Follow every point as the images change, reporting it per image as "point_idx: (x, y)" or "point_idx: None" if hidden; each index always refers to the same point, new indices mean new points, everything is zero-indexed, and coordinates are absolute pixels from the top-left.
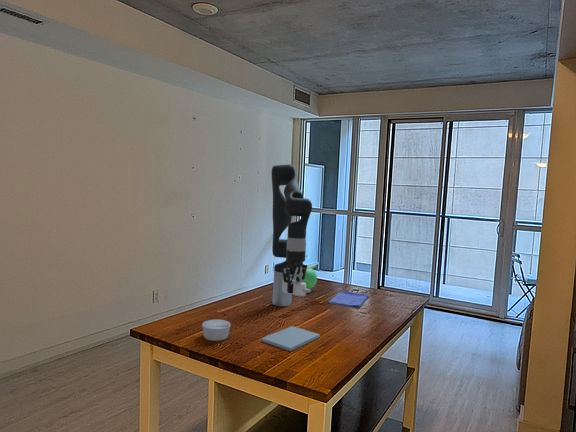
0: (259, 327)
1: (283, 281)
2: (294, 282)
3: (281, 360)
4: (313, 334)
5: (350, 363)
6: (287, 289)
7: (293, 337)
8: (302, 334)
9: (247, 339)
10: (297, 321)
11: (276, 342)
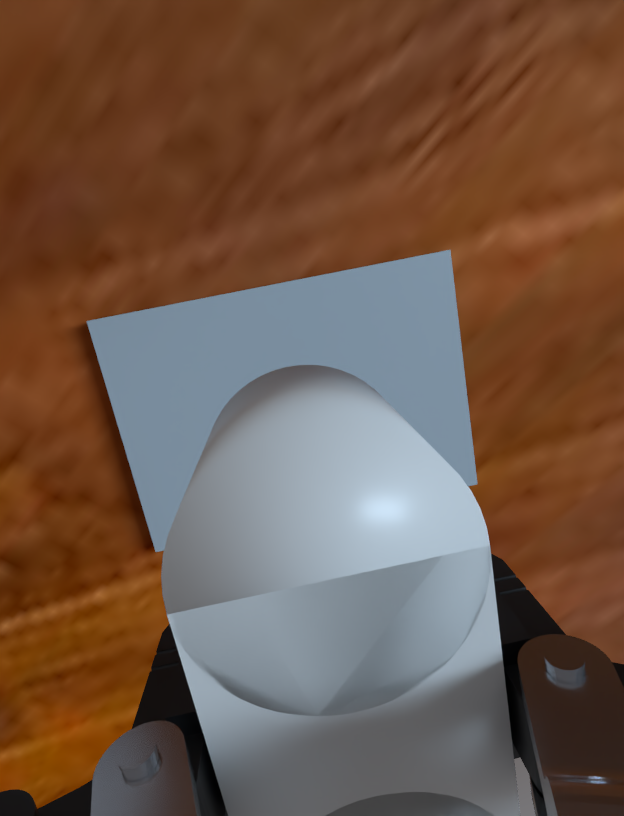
0: (253, 63)
1: (168, 544)
2: (318, 802)
3: (35, 606)
4: None
5: None
6: (158, 651)
7: None
8: None
9: (21, 231)
10: (602, 142)
11: (133, 439)
